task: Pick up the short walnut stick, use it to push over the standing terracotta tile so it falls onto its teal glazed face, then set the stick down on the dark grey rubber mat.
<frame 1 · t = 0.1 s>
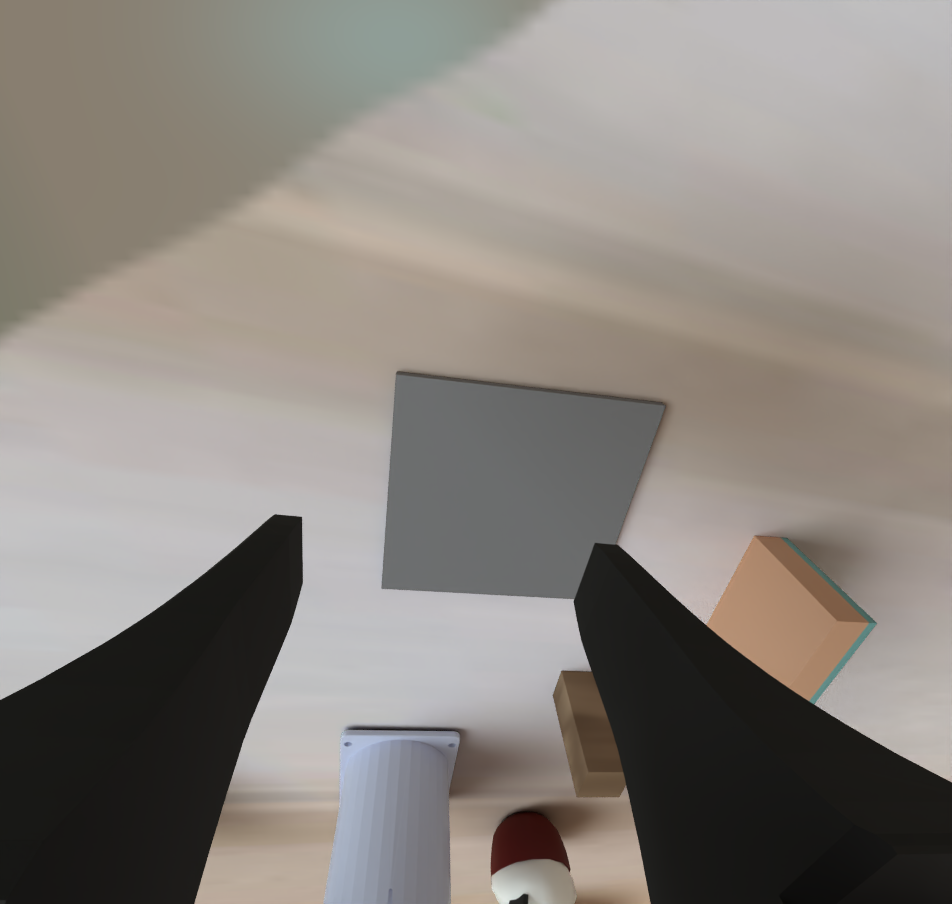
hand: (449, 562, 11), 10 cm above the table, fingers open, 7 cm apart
mat: (510, 500, 23), on the table
stick: (575, 683, 30), on the table
cocoa: (522, 818, 38), on the table
tile: (733, 601, 28), on the table
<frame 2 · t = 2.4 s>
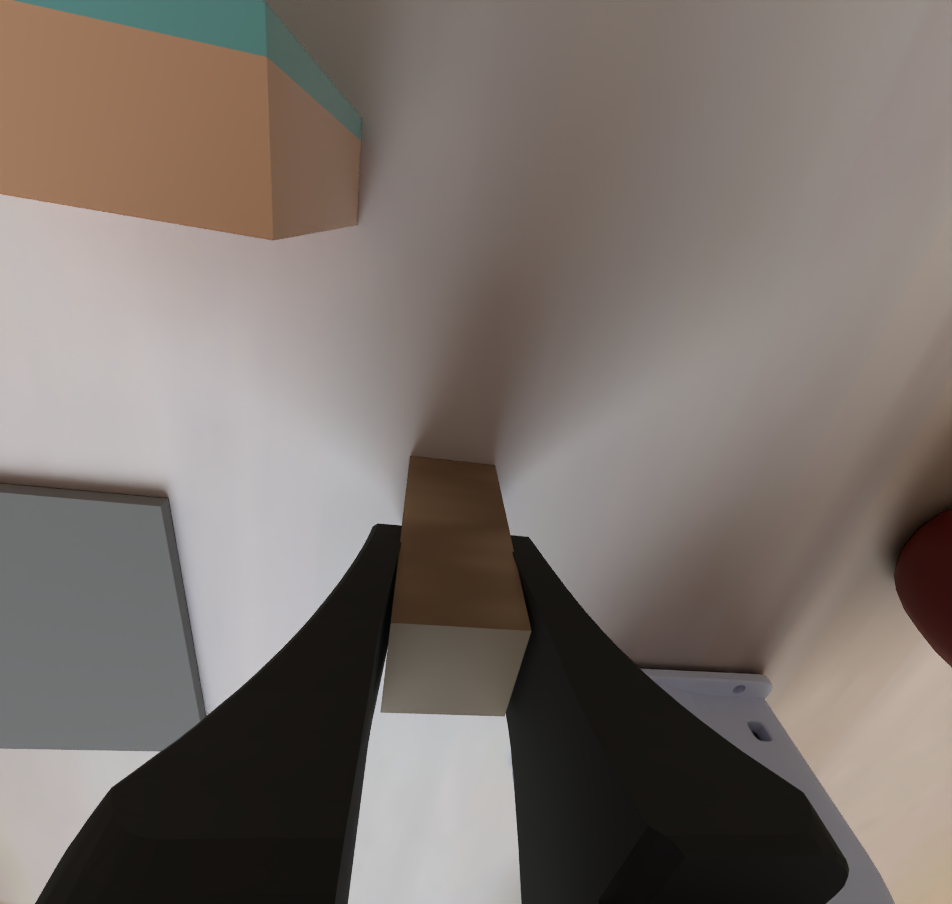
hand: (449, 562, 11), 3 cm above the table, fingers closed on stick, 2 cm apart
stick: (447, 496, 14), on the table, touching gripper
cocoa: (937, 541, 17), on the table
tile: (107, 125, 9), on the table
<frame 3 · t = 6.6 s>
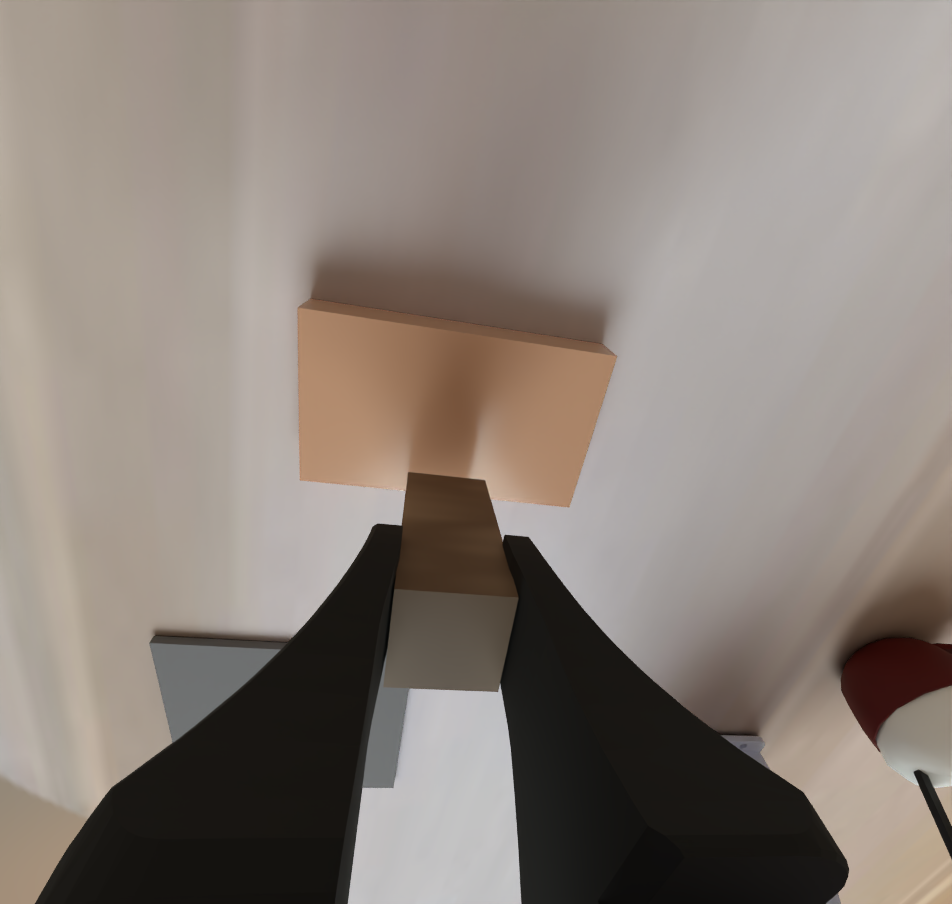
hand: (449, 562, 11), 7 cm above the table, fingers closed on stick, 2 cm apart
mat: (291, 718, 25), on the table
stick: (442, 510, 15), point 3 cm above the table, tilted 8°, touching gripper
cocoa: (868, 657, 26), on the table
tile: (440, 480, 18), on the table, tilted 90°
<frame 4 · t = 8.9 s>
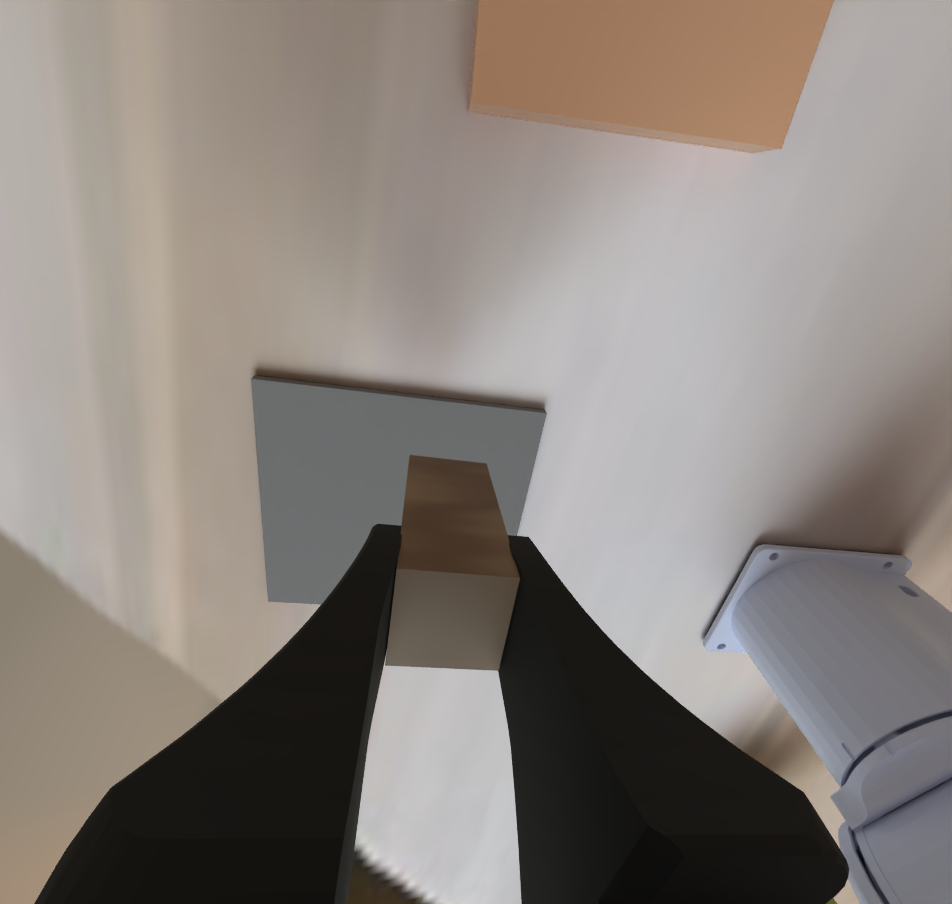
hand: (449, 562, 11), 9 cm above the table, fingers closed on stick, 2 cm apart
mat: (395, 510, 22), on the table
stick: (443, 493, 15), point 5 cm above the table, tilted 7°, touching gripper
tile: (621, 131, 15), on the table, tilted 90°
when the fingers open (4 cm above the table, at t = 10.5 s): stick stays where it is, resting on mat.
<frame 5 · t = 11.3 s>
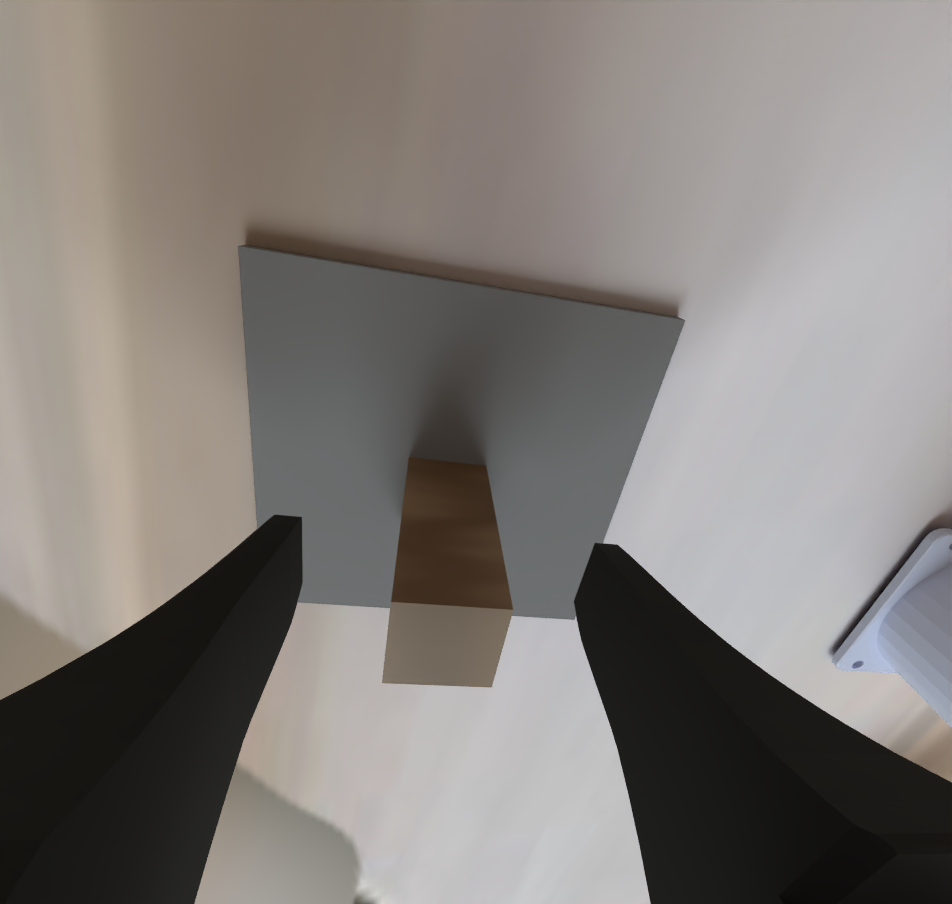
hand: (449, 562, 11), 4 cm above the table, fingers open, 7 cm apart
mat: (446, 471, 15), on the table
stick: (442, 494, 15), resting on mat
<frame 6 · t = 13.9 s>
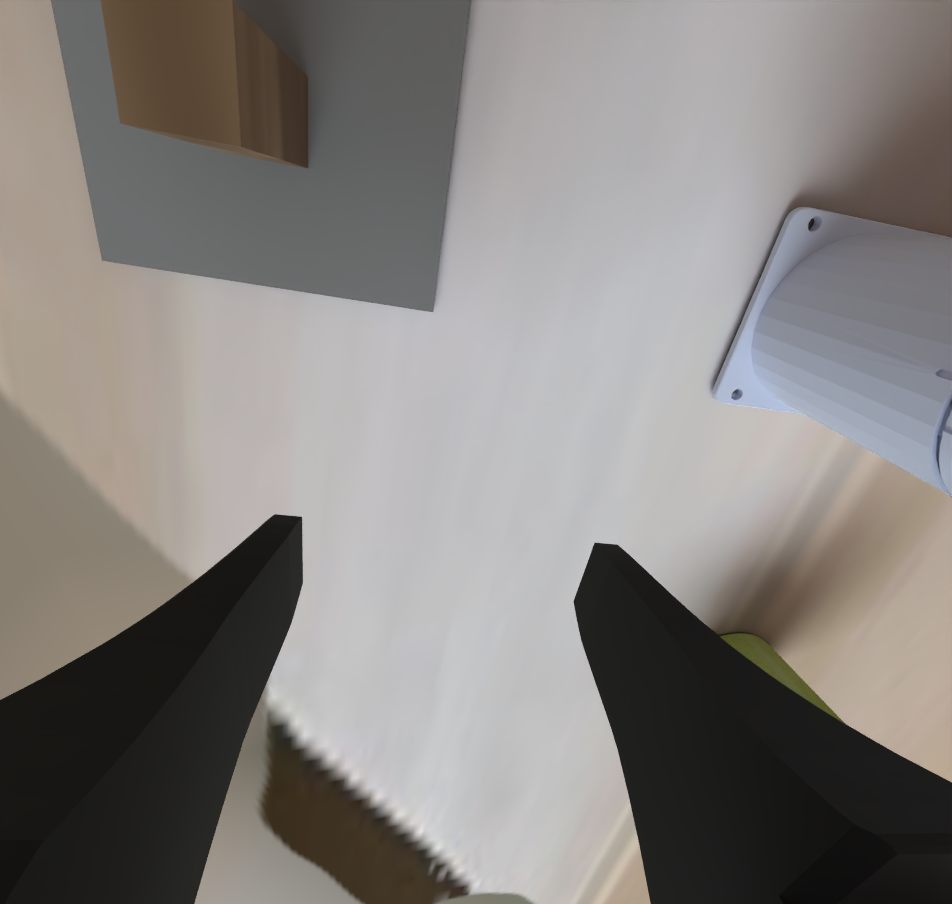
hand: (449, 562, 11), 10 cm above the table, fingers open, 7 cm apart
mat: (273, 95, 15), on the table
stick: (268, 116, 15), resting on mat
plant pot: (720, 659, 31), on the table
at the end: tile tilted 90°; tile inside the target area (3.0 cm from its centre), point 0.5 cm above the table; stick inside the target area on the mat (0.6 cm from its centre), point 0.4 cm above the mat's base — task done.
